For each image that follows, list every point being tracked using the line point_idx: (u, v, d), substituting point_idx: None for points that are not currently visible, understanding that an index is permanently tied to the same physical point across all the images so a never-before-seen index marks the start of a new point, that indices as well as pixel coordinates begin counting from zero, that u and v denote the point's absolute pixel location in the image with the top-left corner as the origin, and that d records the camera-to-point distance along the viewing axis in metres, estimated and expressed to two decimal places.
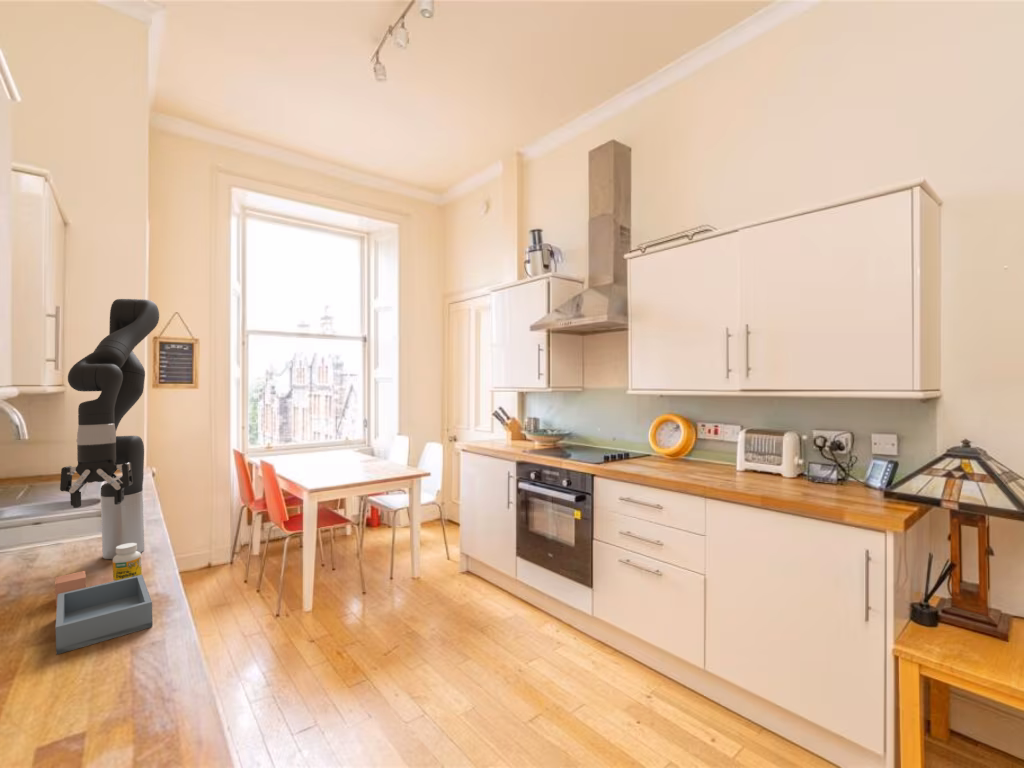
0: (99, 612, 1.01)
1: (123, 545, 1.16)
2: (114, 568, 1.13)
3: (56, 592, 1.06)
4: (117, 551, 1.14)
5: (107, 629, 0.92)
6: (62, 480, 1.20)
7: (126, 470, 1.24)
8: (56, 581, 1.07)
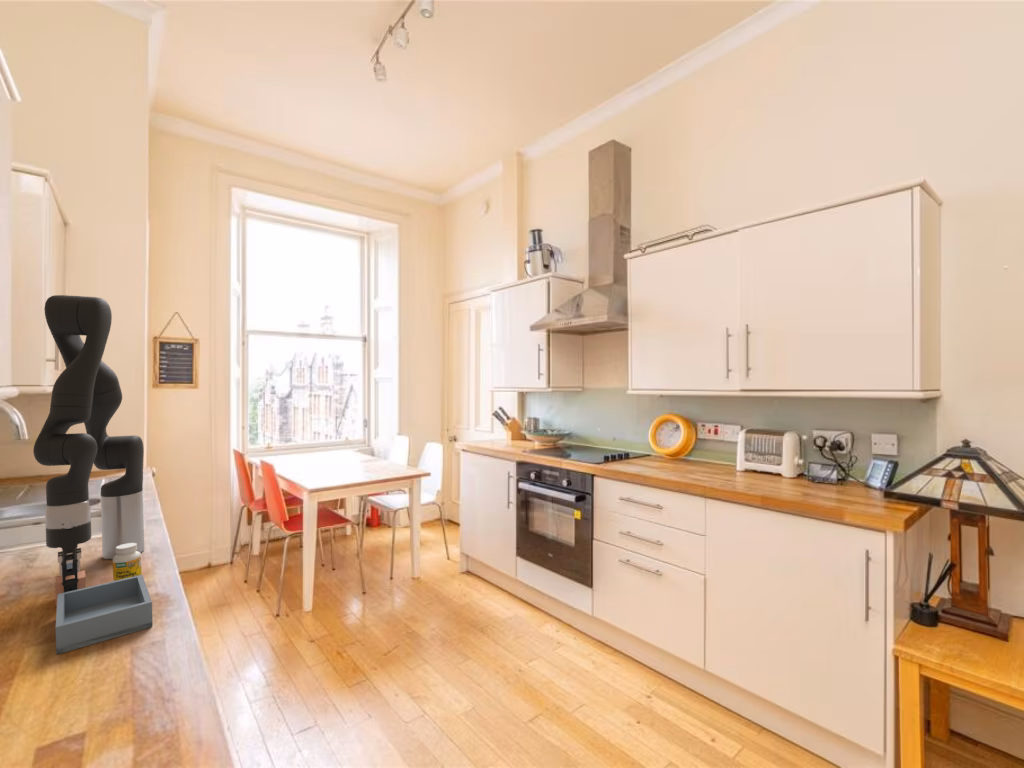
0: (99, 612, 1.01)
1: (123, 545, 1.16)
2: (114, 568, 1.13)
3: (56, 592, 1.06)
4: (117, 551, 1.14)
5: (107, 629, 0.92)
6: (77, 572, 1.06)
7: None
8: (56, 581, 1.07)
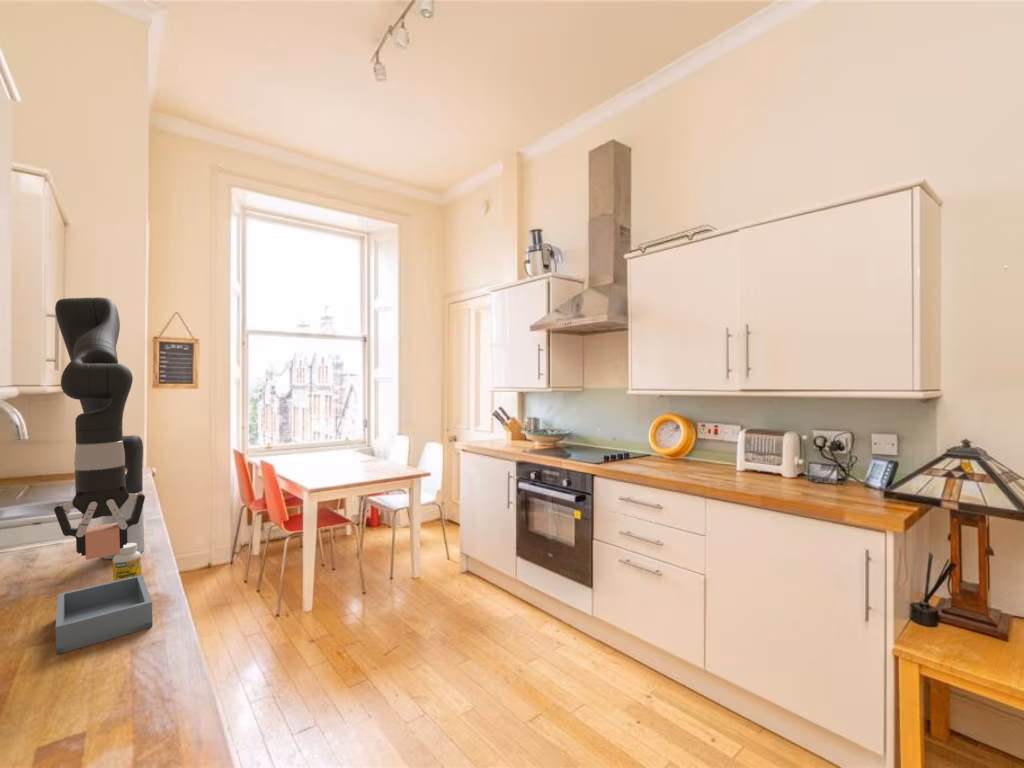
0: (99, 612, 1.01)
1: (123, 545, 1.16)
2: (114, 568, 1.13)
3: (119, 537, 0.95)
4: None
5: (107, 629, 0.92)
6: None
7: None
8: (108, 529, 0.94)
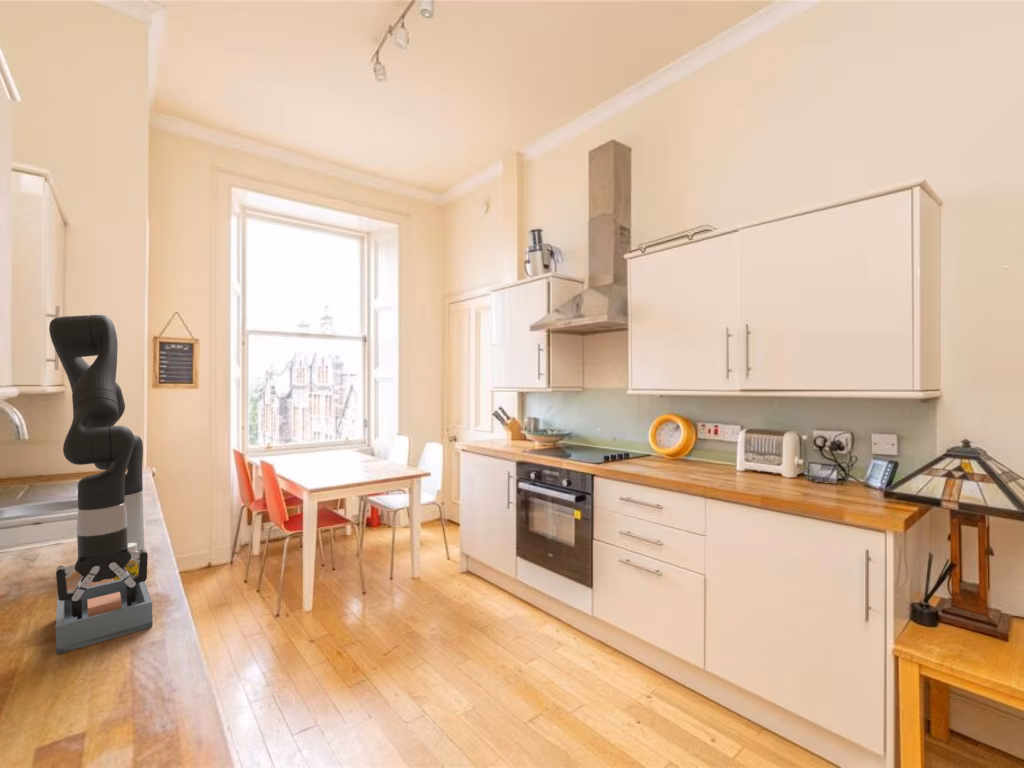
0: None
1: None
2: None
3: None
4: None
5: (107, 629, 0.92)
6: None
7: None
8: (111, 602, 0.94)
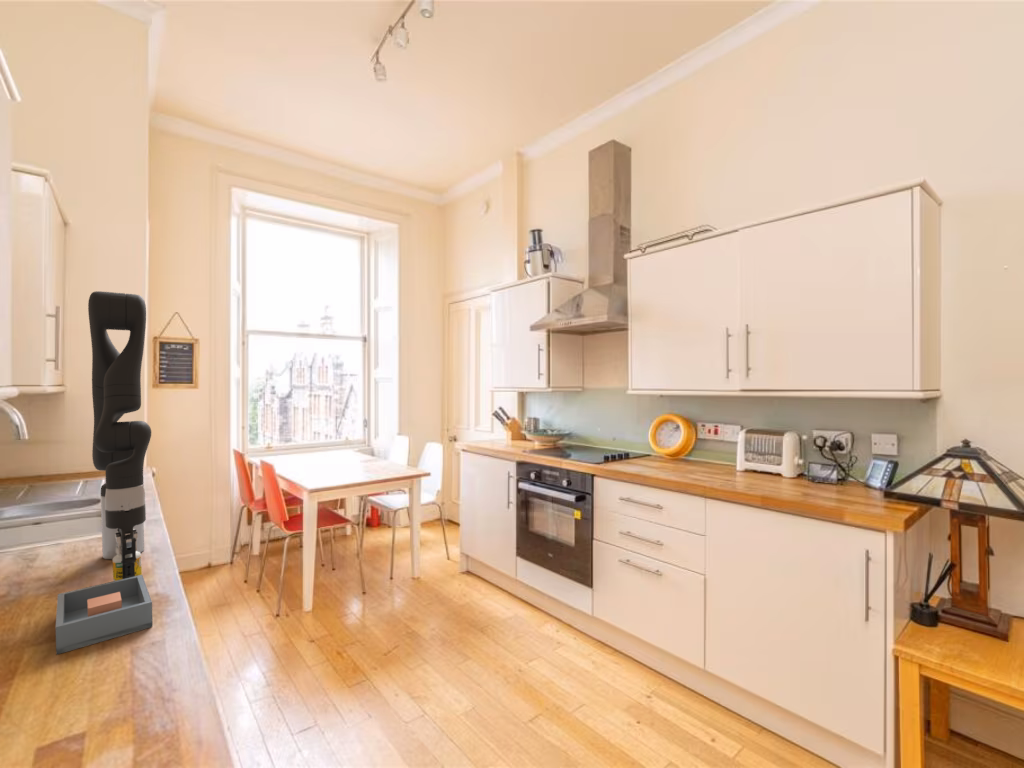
0: None
1: None
2: (114, 568, 1.13)
3: None
4: (117, 551, 1.14)
5: (107, 629, 0.92)
6: (135, 551, 1.12)
7: None
8: (111, 602, 0.94)
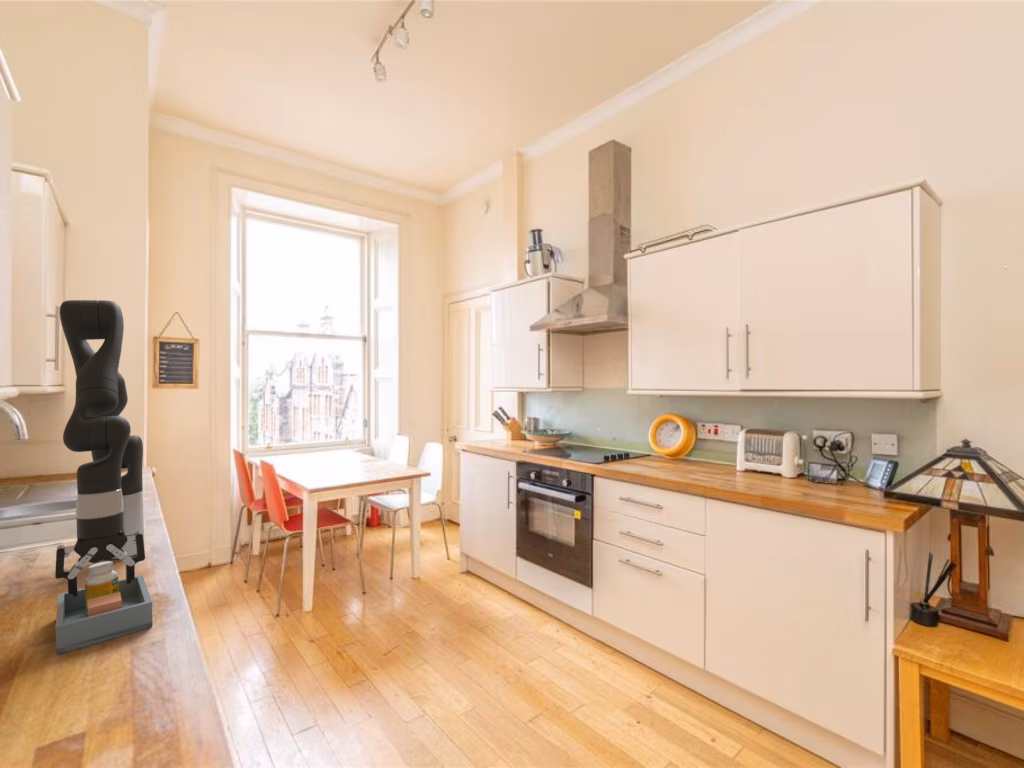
0: None
1: (96, 566, 1.00)
2: (109, 588, 1.00)
3: None
4: (107, 568, 1.01)
5: (107, 629, 0.92)
6: None
7: None
8: (111, 602, 0.94)
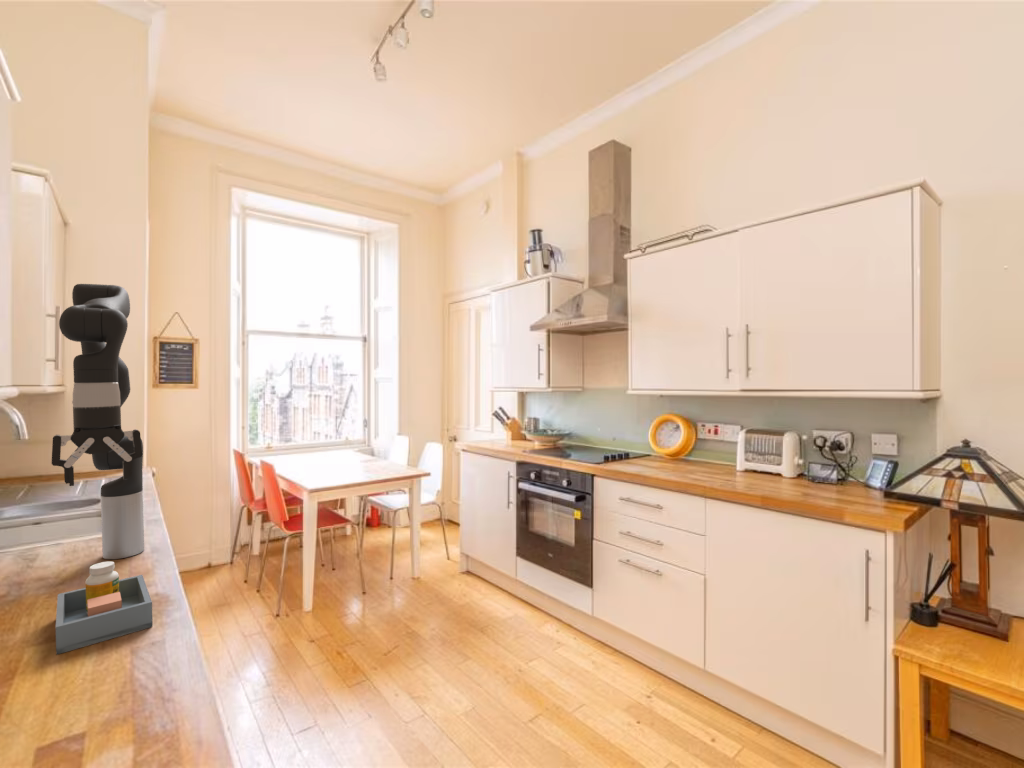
0: None
1: (97, 566, 1.00)
2: (109, 588, 1.00)
3: None
4: (108, 569, 1.01)
5: (107, 629, 0.92)
6: None
7: None
8: (111, 602, 0.94)
